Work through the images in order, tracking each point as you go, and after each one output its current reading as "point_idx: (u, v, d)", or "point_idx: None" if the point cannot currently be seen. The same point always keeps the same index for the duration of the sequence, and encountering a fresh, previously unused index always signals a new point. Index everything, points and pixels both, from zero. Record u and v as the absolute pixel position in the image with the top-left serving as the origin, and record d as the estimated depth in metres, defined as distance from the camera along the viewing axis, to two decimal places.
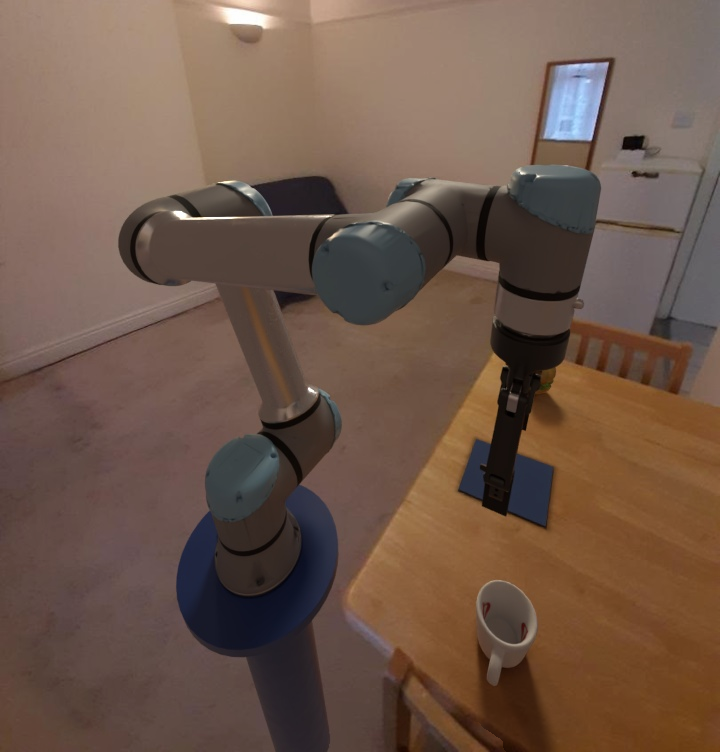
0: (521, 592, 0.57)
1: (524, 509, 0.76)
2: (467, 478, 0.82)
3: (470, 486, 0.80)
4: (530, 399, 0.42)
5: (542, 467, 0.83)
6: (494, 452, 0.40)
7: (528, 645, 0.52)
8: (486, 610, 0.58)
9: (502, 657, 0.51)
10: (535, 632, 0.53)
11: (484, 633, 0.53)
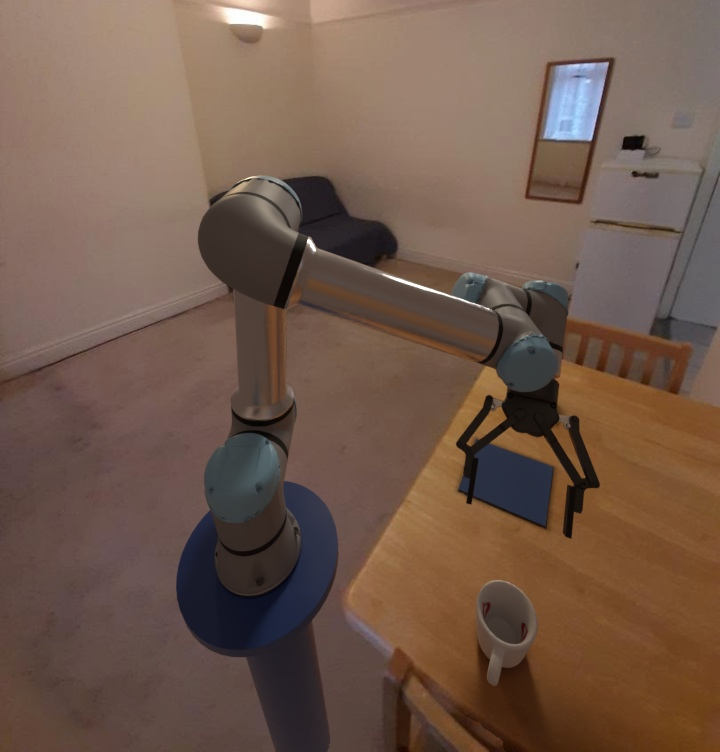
0: (521, 592, 0.57)
1: (524, 509, 0.76)
2: (467, 478, 0.82)
3: None
4: (507, 418, 0.63)
5: (542, 467, 0.83)
6: None
7: (528, 645, 0.52)
8: (486, 610, 0.58)
9: (502, 657, 0.51)
10: (535, 632, 0.53)
11: (484, 633, 0.53)
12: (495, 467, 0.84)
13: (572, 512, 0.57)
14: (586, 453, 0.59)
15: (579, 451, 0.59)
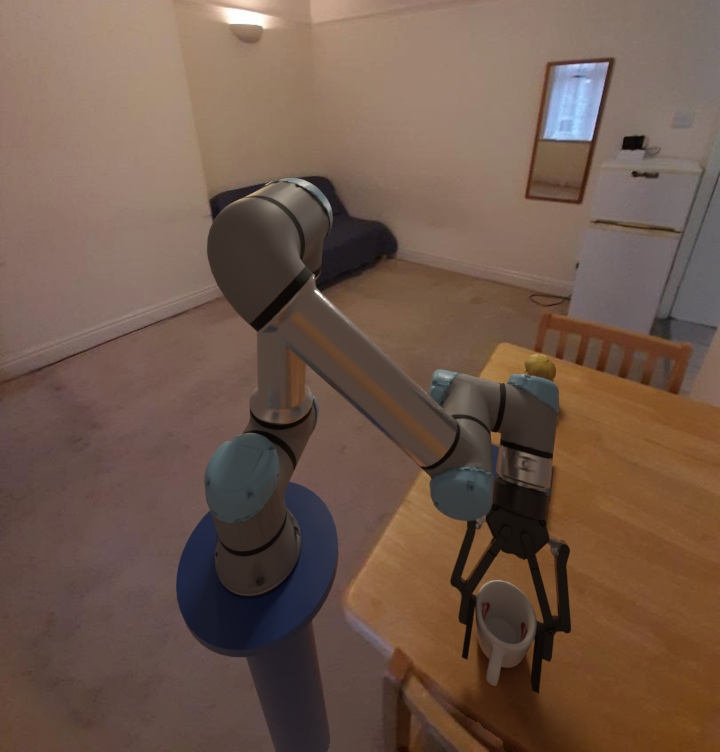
0: (520, 592, 0.57)
1: None
2: None
3: None
4: (494, 539, 0.57)
5: None
6: None
7: (527, 645, 0.52)
8: (486, 610, 0.58)
9: (501, 657, 0.51)
10: (534, 632, 0.53)
11: (484, 633, 0.53)
12: (495, 467, 0.84)
13: (540, 661, 0.51)
14: (566, 591, 0.53)
15: (559, 586, 0.53)
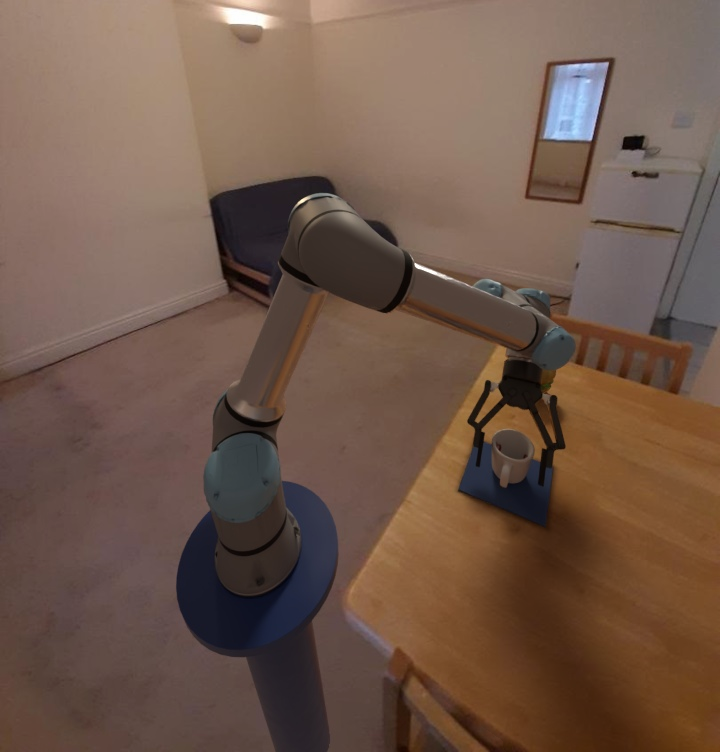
0: (523, 434, 0.81)
1: (524, 509, 0.76)
2: (467, 478, 0.82)
3: (470, 486, 0.80)
4: (503, 396, 0.81)
5: None
6: None
7: (528, 459, 0.76)
8: (498, 450, 0.83)
9: (510, 467, 0.76)
10: (533, 453, 0.77)
11: (498, 455, 0.78)
12: None
13: (544, 467, 0.75)
14: (559, 423, 0.77)
15: (553, 421, 0.77)
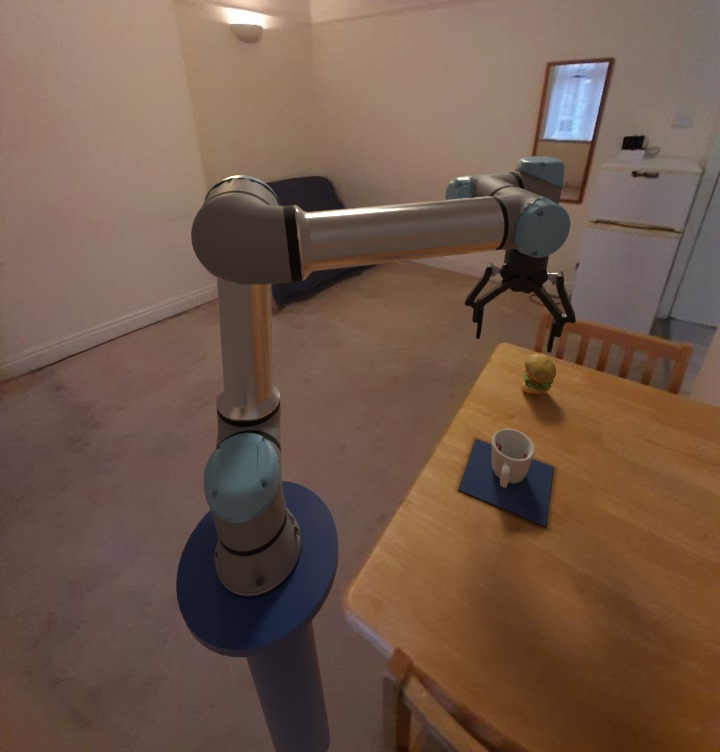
0: (523, 434, 0.81)
1: (524, 509, 0.76)
2: (467, 478, 0.82)
3: (470, 486, 0.80)
4: (504, 283, 0.76)
5: (542, 467, 0.83)
6: None
7: (528, 459, 0.76)
8: (498, 450, 0.83)
9: (510, 467, 0.76)
10: (533, 453, 0.77)
11: (498, 455, 0.78)
12: None
13: (553, 338, 0.77)
14: (567, 302, 0.74)
15: (562, 301, 0.74)
